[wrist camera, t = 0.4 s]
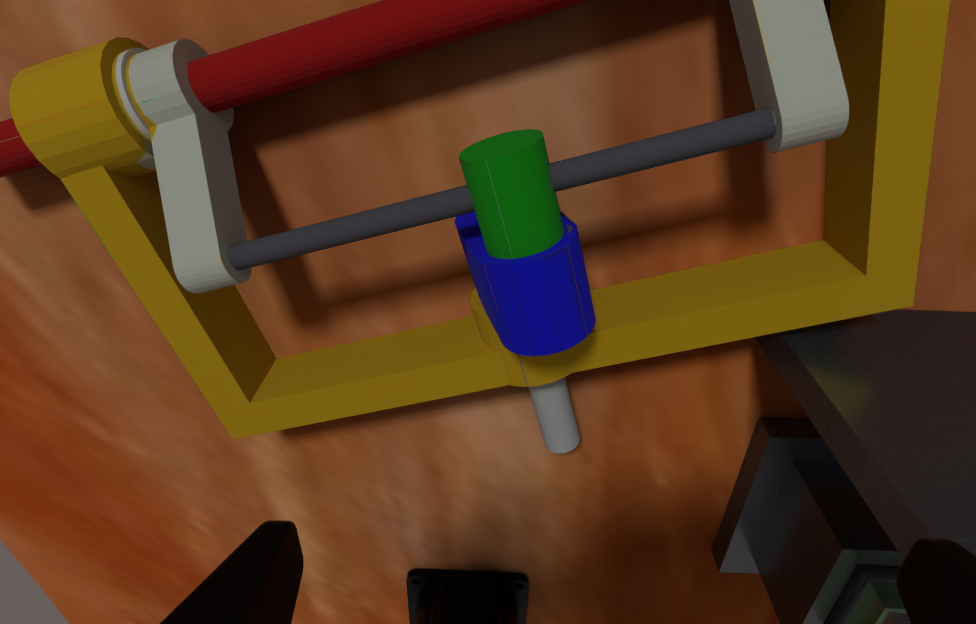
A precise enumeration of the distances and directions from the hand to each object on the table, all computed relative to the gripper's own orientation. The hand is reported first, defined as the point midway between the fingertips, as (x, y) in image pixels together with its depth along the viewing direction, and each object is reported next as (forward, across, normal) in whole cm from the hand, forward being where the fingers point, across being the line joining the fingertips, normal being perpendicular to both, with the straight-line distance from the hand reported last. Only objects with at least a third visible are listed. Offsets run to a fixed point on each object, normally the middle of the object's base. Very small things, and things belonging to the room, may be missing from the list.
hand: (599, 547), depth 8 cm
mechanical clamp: (+14, +3, +1) cm, 15 cm away
